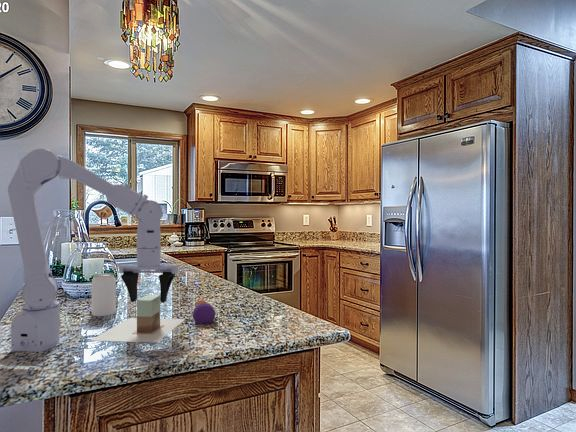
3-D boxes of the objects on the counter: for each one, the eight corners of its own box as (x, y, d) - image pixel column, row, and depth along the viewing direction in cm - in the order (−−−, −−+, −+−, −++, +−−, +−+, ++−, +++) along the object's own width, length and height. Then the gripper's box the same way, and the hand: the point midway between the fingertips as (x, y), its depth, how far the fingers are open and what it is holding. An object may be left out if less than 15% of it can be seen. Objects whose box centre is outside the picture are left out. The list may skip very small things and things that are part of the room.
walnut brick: (151, 332, 100) (151, 316, 100) (136, 332, 100) (136, 316, 100) (160, 326, 106) (160, 310, 106) (146, 325, 106) (146, 310, 106)
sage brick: (151, 316, 100) (151, 300, 100) (136, 316, 100) (136, 300, 100) (160, 310, 106) (160, 295, 106) (146, 310, 106) (146, 295, 106)
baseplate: (157, 344, 93) (157, 341, 93) (89, 343, 94) (89, 340, 94) (185, 321, 113) (185, 318, 113) (129, 320, 114) (129, 317, 114)
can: (106, 318, 115) (106, 276, 115) (86, 317, 117) (86, 275, 117) (120, 313, 122) (120, 273, 122) (101, 312, 123) (101, 272, 123)
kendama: (212, 297, 127) (217, 306, 108) (209, 316, 127) (213, 329, 107) (193, 294, 126) (195, 303, 107) (190, 313, 125) (190, 326, 106)
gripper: (113, 248, 99) (112, 304, 99) (171, 249, 98) (171, 305, 98) (126, 246, 106) (126, 298, 106) (180, 247, 105) (180, 299, 105)
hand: (148, 301), depth 103 cm, fingers open, 7 cm apart
